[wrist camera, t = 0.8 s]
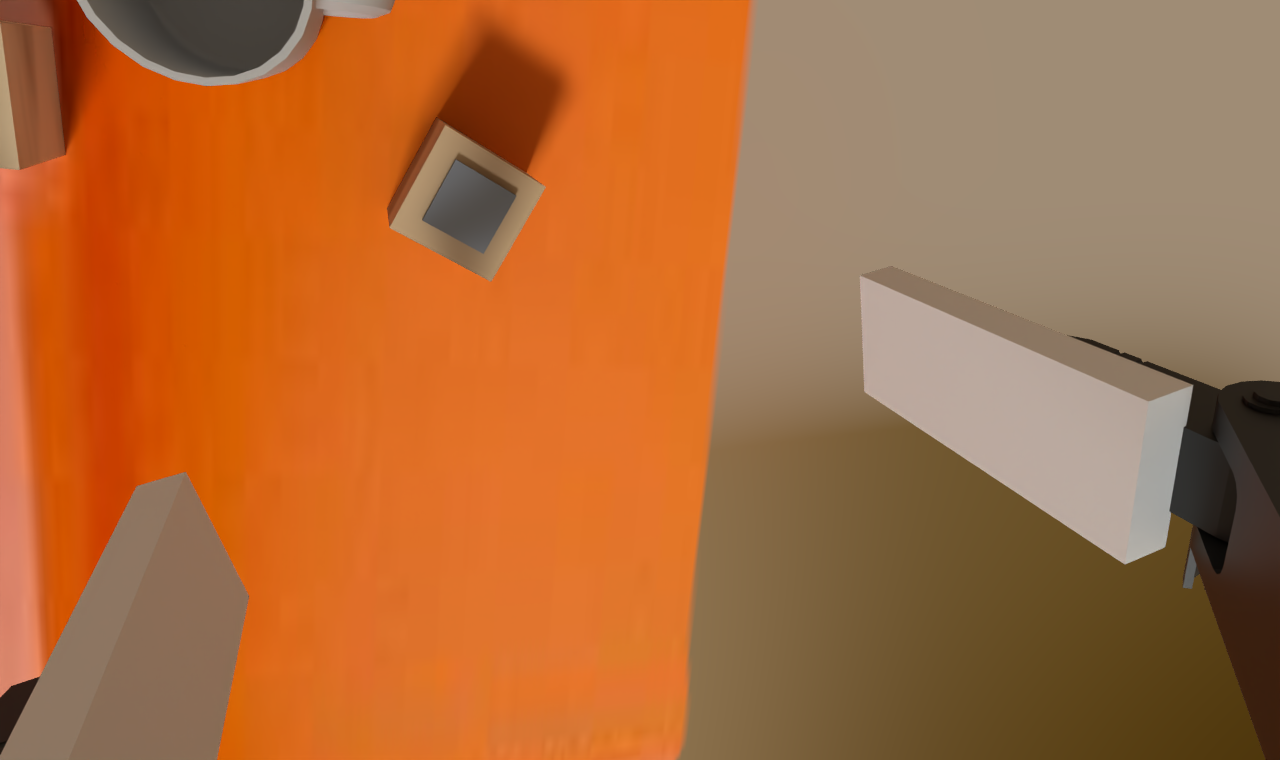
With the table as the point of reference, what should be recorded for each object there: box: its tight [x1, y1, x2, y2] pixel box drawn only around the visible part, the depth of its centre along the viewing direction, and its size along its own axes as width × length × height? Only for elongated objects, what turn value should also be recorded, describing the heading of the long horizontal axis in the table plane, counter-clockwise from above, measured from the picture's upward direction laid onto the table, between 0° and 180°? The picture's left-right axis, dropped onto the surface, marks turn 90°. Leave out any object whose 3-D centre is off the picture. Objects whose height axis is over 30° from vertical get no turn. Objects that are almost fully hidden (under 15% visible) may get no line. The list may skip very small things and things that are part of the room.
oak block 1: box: [387, 117, 546, 281], centre depth 36 cm, size 5×5×5 cm
